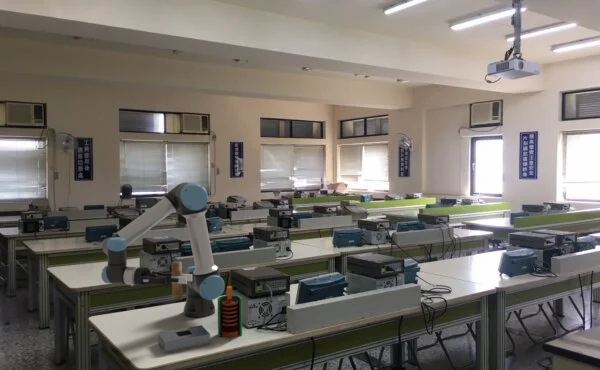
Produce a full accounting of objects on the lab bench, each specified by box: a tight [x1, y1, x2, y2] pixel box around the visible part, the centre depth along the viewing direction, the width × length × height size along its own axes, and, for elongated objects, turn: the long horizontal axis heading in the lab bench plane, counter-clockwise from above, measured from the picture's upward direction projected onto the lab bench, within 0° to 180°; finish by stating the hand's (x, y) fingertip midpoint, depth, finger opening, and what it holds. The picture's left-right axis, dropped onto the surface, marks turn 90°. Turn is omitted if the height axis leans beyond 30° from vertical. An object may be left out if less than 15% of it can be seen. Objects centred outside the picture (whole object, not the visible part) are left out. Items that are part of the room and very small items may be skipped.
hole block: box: [157, 324, 211, 354], centre depth 195 cm, size 18×12×4 cm, turn 117°
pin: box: [171, 261, 183, 301], centre depth 197 cm, size 4×4×15 cm
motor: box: [217, 285, 243, 339], centre depth 206 cm, size 10×9×20 cm
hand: (189, 279), depth 196 cm, fingers closed on pin, 4 cm apart
